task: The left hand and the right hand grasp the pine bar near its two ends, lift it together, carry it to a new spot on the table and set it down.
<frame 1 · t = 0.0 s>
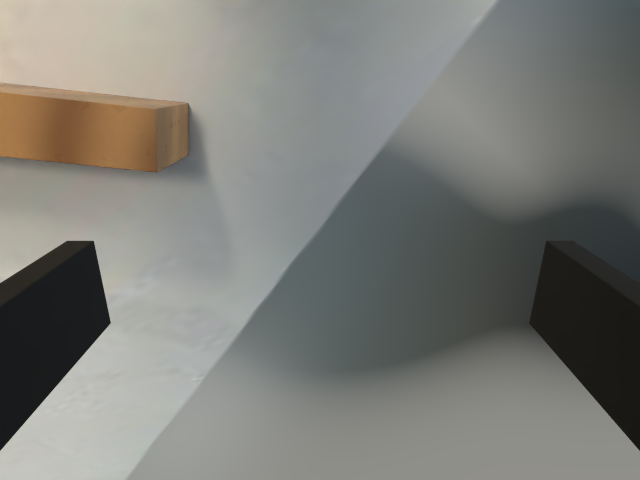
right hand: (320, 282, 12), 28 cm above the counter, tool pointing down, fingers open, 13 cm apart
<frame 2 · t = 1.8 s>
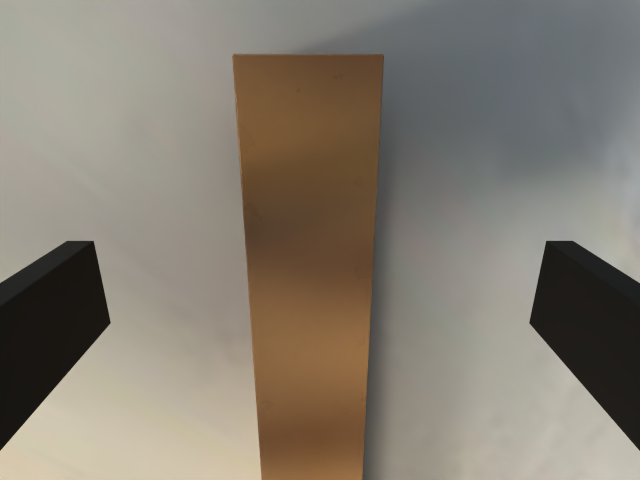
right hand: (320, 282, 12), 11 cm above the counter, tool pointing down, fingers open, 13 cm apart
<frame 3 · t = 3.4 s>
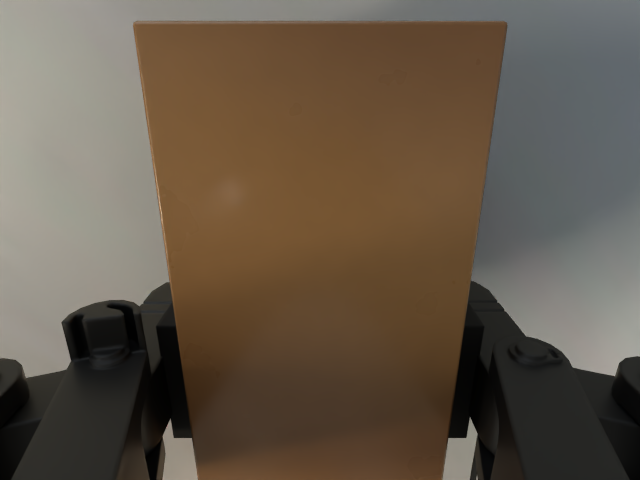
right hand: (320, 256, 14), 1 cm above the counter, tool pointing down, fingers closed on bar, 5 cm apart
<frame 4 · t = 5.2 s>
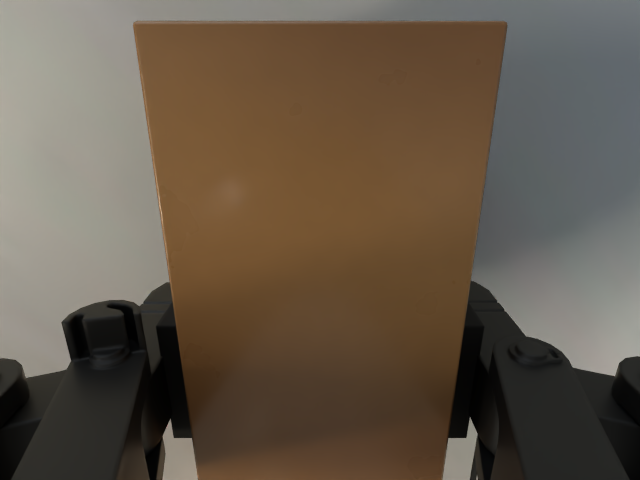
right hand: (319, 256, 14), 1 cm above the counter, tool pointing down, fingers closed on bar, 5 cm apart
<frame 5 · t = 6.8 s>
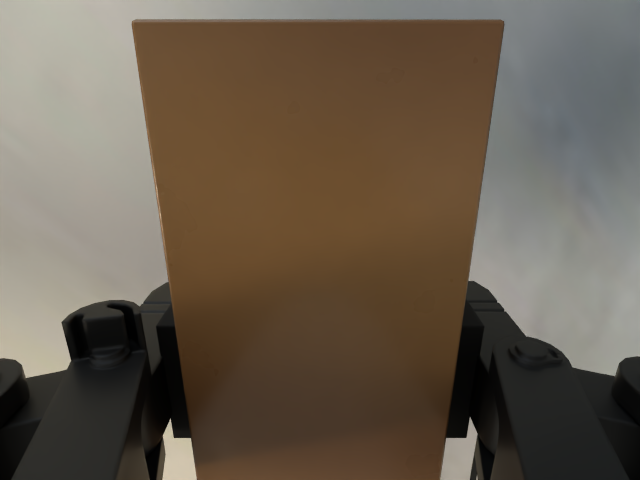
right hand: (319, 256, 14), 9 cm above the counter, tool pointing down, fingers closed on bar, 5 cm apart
when the right hand's fingers open (2 cm above the counter, at t = 8.7 s): bar drops 2 cm, on the counter.
when the left hand's fingers open (5 cm above the counter, at t = 8.8 s): bar stays where it is, on the counter.
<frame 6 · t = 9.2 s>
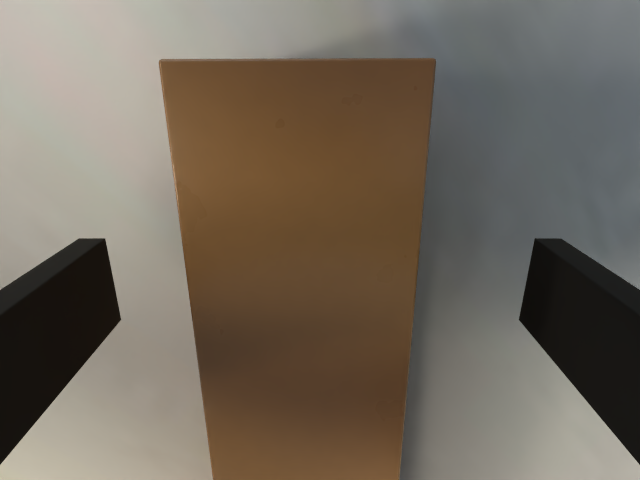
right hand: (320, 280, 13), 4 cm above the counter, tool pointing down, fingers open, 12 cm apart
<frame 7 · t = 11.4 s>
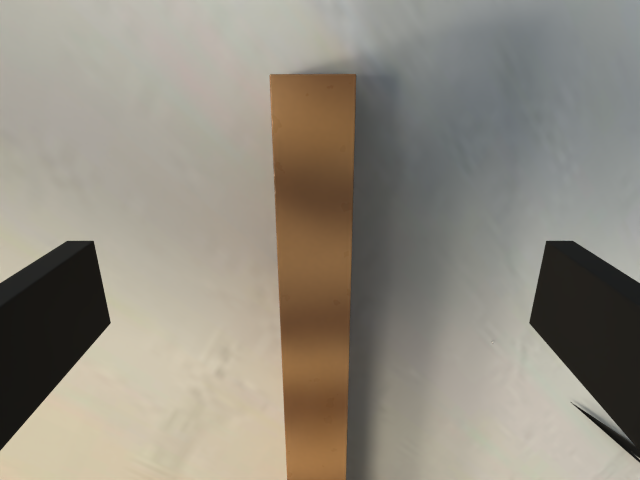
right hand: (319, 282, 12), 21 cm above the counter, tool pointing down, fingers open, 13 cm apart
feather: (590, 415, 41), on the counter
bar: (317, 423, 41), on the counter
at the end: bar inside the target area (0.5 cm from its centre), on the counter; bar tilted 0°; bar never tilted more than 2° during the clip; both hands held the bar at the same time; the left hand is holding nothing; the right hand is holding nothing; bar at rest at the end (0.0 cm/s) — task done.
